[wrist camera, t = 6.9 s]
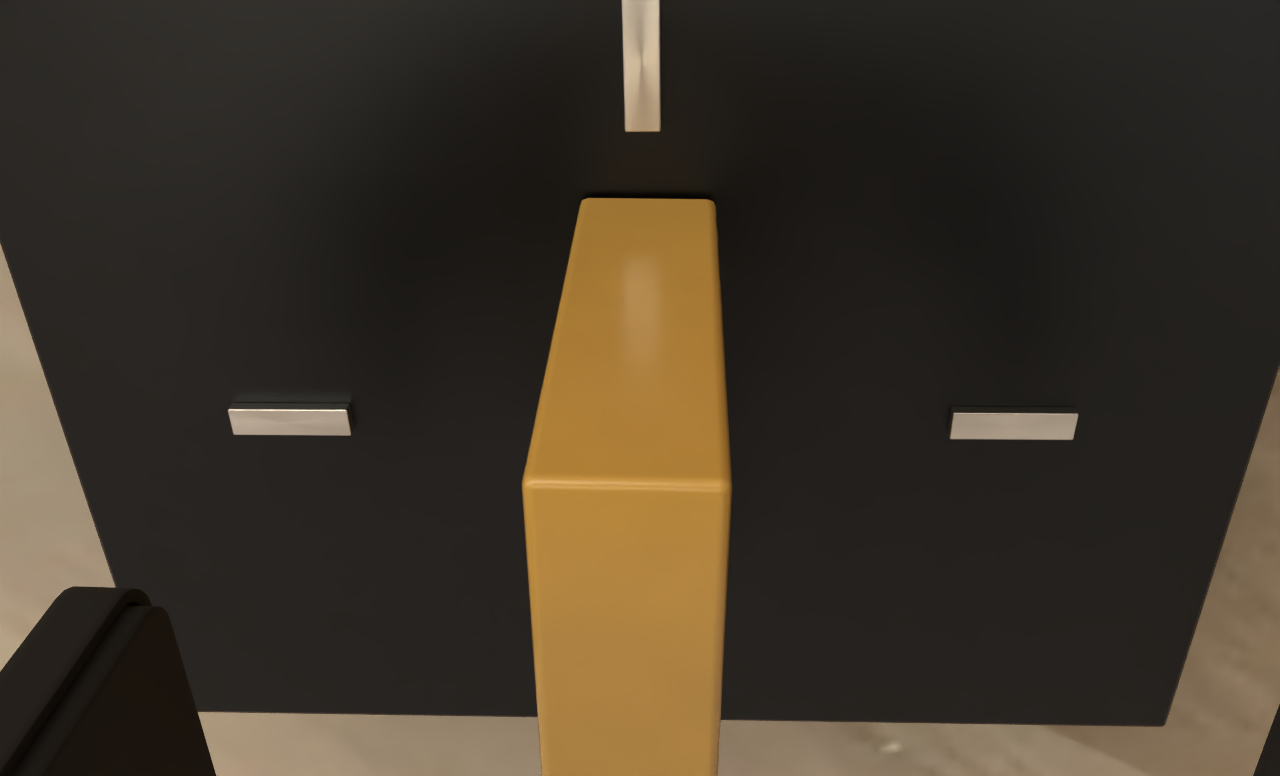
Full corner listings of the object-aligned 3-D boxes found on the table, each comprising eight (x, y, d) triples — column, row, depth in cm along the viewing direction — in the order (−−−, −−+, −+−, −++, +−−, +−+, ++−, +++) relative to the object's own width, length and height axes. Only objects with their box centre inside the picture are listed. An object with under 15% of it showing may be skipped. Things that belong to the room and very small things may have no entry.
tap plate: (1268, -95, 13) (1422, -38, 10) (1097, 582, 18) (1170, 737, 15) (55, -81, 13) (-103, -25, 11) (228, 572, 19) (151, 721, 16)
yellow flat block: (580, 194, 12) (514, 502, 7) (715, 196, 12) (734, 507, 7) (592, 598, 15) (549, 999, 10) (701, 601, 15) (708, 1003, 10)
